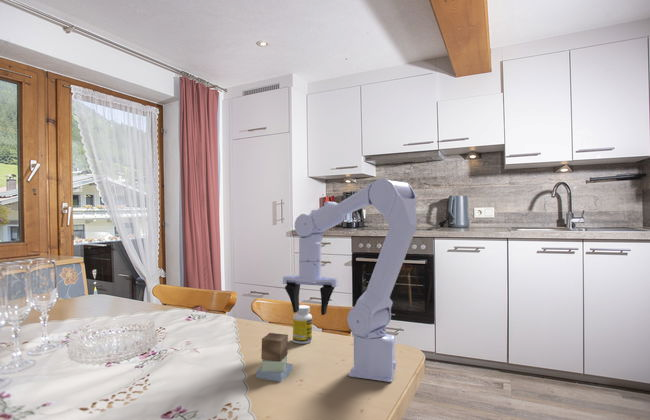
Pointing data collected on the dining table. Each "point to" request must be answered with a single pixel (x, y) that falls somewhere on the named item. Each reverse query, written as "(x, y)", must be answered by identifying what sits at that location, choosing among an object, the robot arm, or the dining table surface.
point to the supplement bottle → (302, 325)
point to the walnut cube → (274, 347)
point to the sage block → (274, 365)
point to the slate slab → (275, 374)
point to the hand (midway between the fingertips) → (309, 312)
